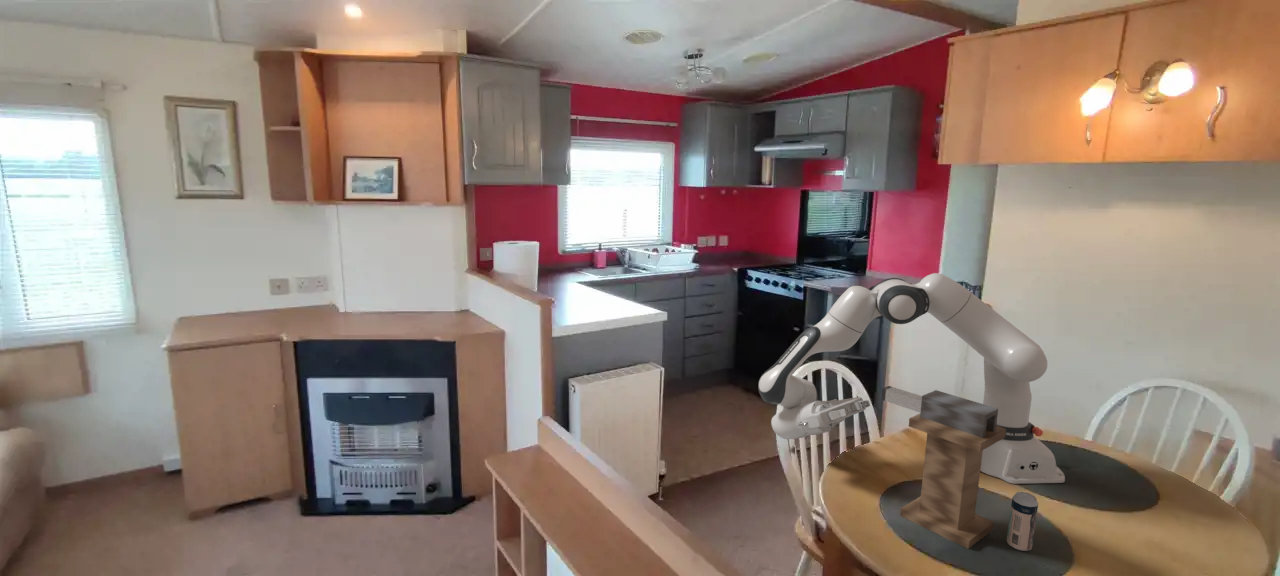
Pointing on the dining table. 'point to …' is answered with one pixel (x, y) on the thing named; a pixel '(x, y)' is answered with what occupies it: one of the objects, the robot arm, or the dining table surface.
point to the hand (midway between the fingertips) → (857, 407)
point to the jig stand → (953, 466)
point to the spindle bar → (902, 398)
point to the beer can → (1022, 521)
